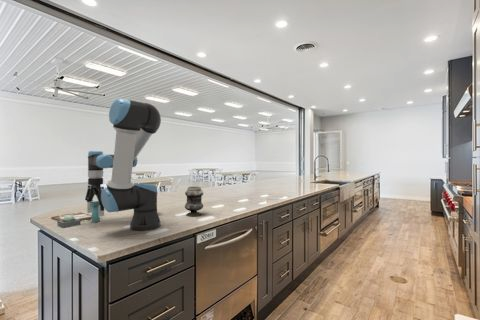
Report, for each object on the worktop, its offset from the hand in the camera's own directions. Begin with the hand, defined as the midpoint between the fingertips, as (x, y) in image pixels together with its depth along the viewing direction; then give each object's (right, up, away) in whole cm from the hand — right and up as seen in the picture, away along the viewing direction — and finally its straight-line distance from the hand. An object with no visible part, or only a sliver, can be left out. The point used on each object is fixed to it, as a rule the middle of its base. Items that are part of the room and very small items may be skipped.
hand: (95, 214), depth 141 cm
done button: (-10, -2, -8) cm, 13 cm away
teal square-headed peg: (0, -4, 0) cm, 4 cm away
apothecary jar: (+54, -4, +18) cm, 57 cm away
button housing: (-10, -4, -8) cm, 13 cm away
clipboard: (-18, -4, +7) cm, 20 cm away
